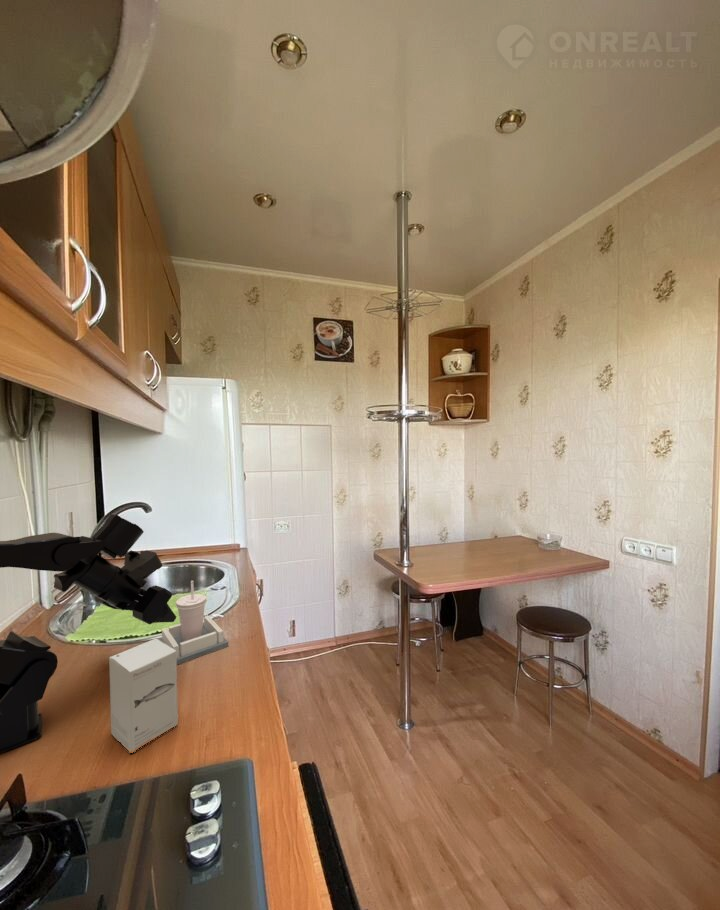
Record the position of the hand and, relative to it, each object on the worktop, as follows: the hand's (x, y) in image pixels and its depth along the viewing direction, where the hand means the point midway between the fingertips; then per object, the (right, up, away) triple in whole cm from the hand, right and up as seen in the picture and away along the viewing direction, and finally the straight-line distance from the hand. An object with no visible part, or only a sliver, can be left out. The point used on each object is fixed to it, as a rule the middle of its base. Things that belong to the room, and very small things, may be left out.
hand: (161, 614), depth 79 cm
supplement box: (+8, -11, -19) cm, 23 cm away
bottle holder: (+4, -10, +6) cm, 12 cm away
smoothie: (+4, -9, +6) cm, 11 cm away
